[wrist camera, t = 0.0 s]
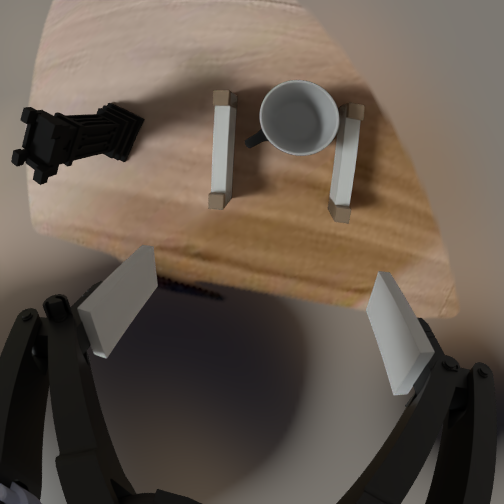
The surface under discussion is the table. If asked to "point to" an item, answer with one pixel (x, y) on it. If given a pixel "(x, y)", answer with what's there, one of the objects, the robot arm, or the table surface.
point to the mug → (297, 118)
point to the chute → (342, 162)
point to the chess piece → (74, 138)
